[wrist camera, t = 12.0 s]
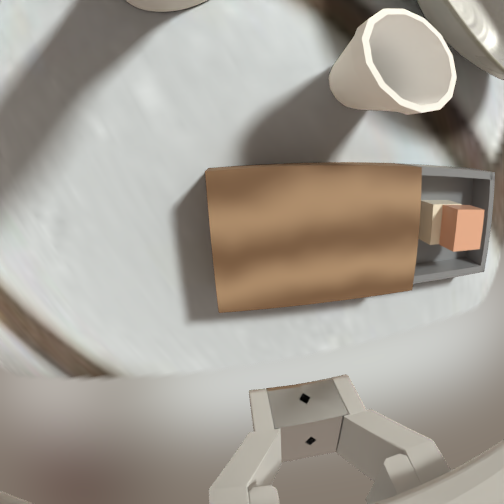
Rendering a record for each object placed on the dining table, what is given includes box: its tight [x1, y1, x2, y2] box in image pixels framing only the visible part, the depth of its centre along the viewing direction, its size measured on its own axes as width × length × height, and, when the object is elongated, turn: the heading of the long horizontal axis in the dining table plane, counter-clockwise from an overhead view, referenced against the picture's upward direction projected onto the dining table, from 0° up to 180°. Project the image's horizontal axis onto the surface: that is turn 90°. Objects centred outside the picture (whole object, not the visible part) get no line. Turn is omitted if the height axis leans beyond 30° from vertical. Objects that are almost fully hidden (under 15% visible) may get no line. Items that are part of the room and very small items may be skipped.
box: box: [403, 164, 495, 284], centre depth 35 cm, size 14×14×4 cm
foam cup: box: [328, 8, 457, 115], centre depth 25 cm, size 10×9×13 cm
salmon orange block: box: [439, 205, 485, 252], centre depth 32 cm, size 5×5×3 cm
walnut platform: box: [205, 162, 422, 313], centre depth 33 cm, size 14×22×6 cm, turn 93°
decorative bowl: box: [417, 0, 504, 80], centre depth 22 cm, size 27×27×12 cm
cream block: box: [418, 200, 462, 245], centre depth 34 cm, size 5×5×3 cm
